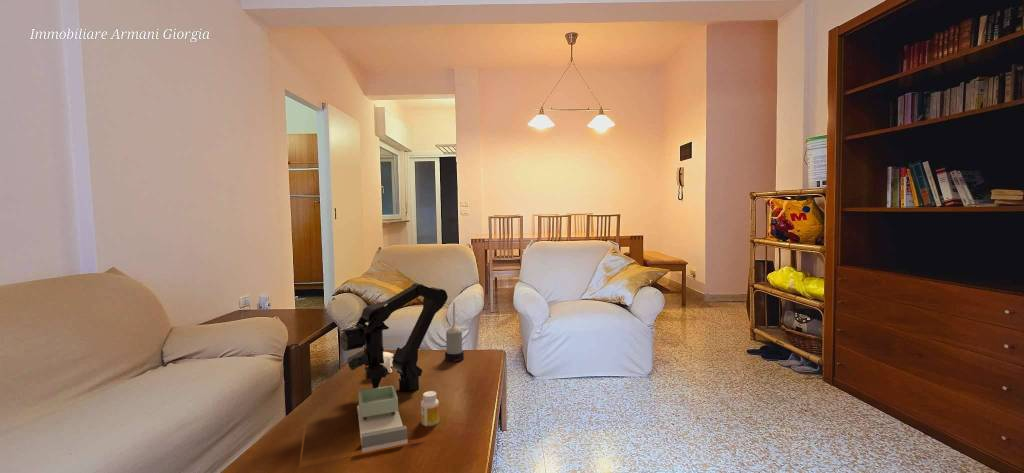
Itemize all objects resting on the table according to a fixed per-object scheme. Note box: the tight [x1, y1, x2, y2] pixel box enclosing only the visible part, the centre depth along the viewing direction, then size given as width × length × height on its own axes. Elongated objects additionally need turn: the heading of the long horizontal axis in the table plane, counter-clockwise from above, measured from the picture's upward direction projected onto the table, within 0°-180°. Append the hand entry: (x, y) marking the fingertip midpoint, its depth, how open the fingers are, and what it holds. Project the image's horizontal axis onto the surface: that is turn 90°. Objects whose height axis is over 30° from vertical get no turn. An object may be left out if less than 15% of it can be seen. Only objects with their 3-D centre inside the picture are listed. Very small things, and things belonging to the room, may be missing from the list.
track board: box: [356, 404, 408, 454], centre depth 132 cm, size 12×28×4 cm, turn 22°
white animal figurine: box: [382, 351, 395, 374], centre depth 176 cm, size 9×8×15 cm
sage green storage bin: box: [358, 384, 399, 420], centre depth 138 cm, size 11×11×6 cm
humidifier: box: [444, 302, 465, 363], centre depth 189 cm, size 8×8×25 cm
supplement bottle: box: [420, 390, 440, 427], centre depth 132 cm, size 5×5×10 cm
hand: (375, 389), depth 147 cm, fingers closed
